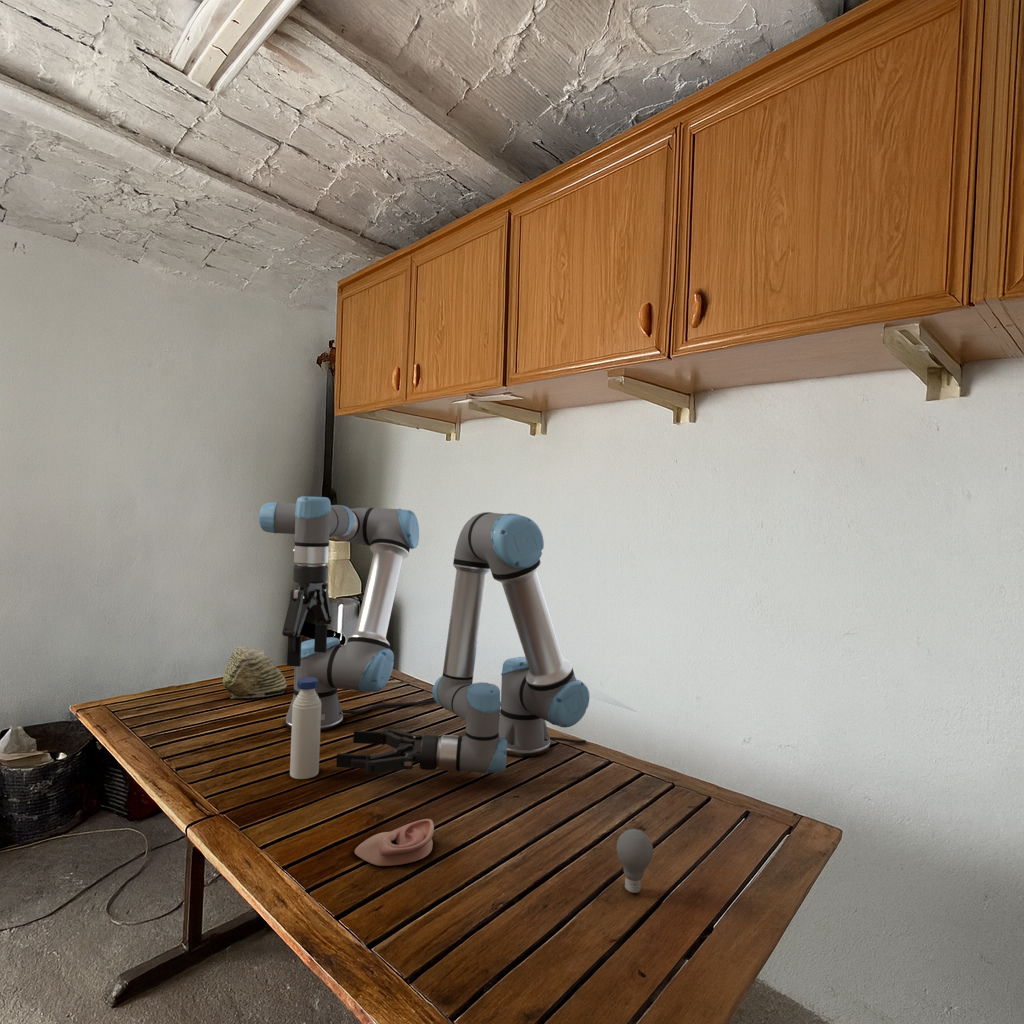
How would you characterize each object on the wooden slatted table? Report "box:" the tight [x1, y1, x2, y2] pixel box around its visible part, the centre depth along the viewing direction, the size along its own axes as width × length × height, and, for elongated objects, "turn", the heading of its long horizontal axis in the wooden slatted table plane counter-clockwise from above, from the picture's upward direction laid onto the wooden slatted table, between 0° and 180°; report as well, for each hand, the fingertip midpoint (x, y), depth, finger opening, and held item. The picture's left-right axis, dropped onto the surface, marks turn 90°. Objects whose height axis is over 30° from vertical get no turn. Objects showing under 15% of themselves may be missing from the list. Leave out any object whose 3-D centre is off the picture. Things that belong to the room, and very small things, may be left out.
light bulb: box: [615, 828, 654, 894], centre depth 106 cm, size 6×6×10 cm
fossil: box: [222, 646, 288, 699], centre depth 198 cm, size 9×18×15 cm, turn 132°
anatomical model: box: [354, 818, 435, 867], centre depth 115 cm, size 13×4×12 cm
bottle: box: [289, 689, 321, 780], centre depth 144 cm, size 6×6×21 cm
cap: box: [297, 677, 318, 690], centre depth 144 cm, size 4×4×2 cm
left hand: (307, 658), depth 144 cm, fingers open, 12 cm apart
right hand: (345, 747), depth 144 cm, fingers open, 13 cm apart
